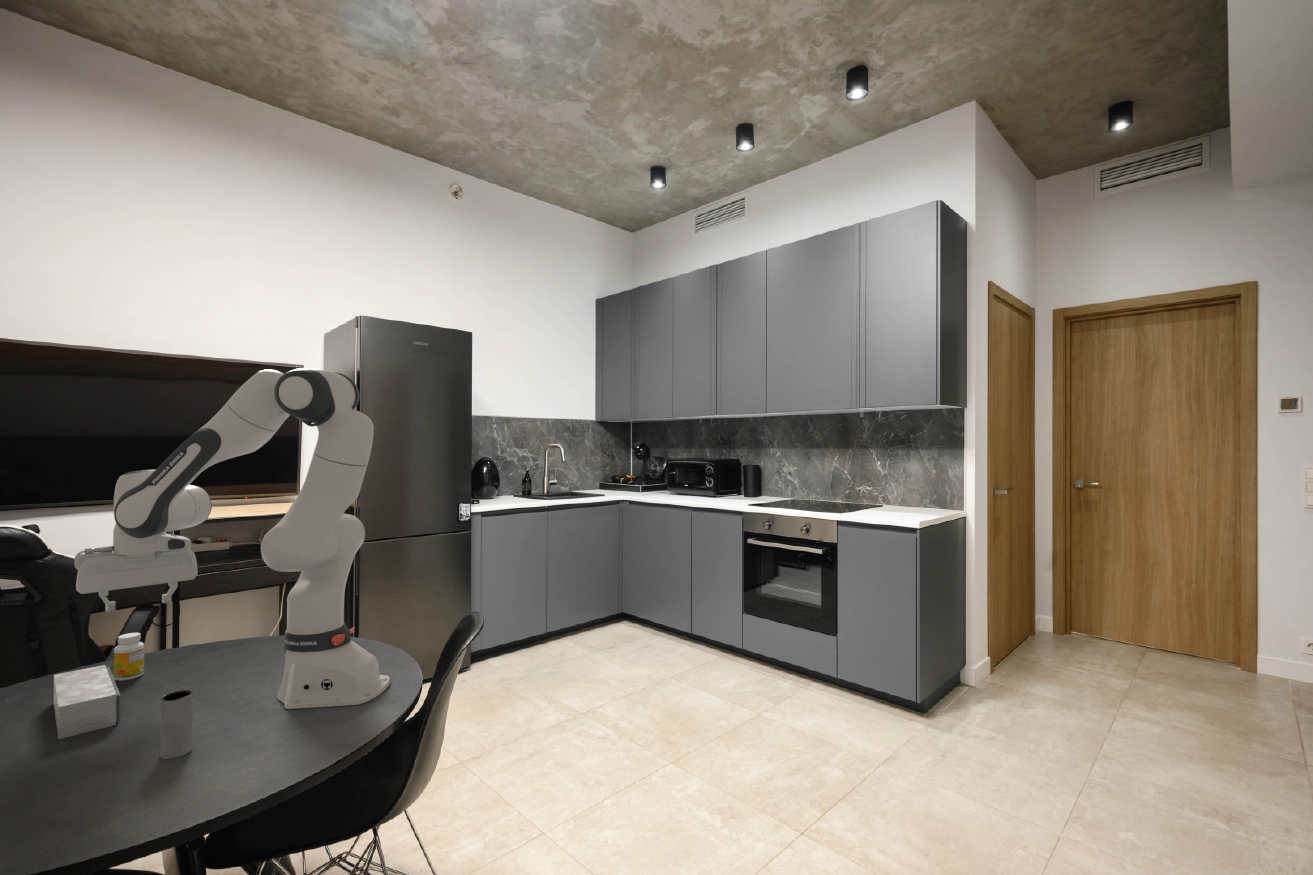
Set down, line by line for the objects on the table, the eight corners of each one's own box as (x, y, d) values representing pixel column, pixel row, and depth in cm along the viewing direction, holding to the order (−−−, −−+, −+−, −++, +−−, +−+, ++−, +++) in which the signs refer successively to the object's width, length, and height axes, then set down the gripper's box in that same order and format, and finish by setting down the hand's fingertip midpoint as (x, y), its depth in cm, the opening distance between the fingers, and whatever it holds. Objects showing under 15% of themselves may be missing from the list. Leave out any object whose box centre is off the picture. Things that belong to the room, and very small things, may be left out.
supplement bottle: (108, 678, 140) (108, 637, 140) (135, 670, 145) (135, 630, 145) (122, 682, 138) (122, 640, 138) (149, 674, 143) (149, 633, 143)
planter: (166, 762, 105) (166, 702, 105) (155, 754, 107) (156, 696, 107) (196, 750, 109) (197, 693, 109) (185, 743, 111) (186, 687, 111)
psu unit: (121, 723, 119) (122, 692, 119) (58, 739, 112) (58, 707, 112) (110, 690, 134) (110, 663, 134) (53, 703, 127) (53, 674, 127)
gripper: (75, 551, 123) (74, 619, 123) (199, 540, 138) (198, 600, 138) (73, 547, 127) (72, 613, 127) (194, 536, 142) (193, 595, 142)
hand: (139, 606), depth 133 cm, fingers open, 8 cm apart
